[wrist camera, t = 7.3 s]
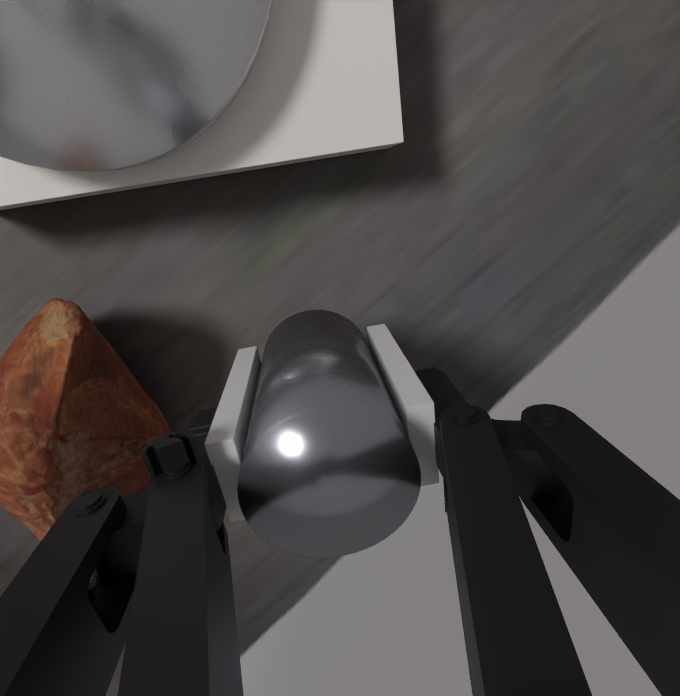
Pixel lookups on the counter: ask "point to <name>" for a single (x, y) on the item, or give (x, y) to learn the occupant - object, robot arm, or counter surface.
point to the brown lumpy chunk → (68, 417)
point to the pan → (119, 77)
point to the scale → (270, 107)
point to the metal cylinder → (324, 443)
